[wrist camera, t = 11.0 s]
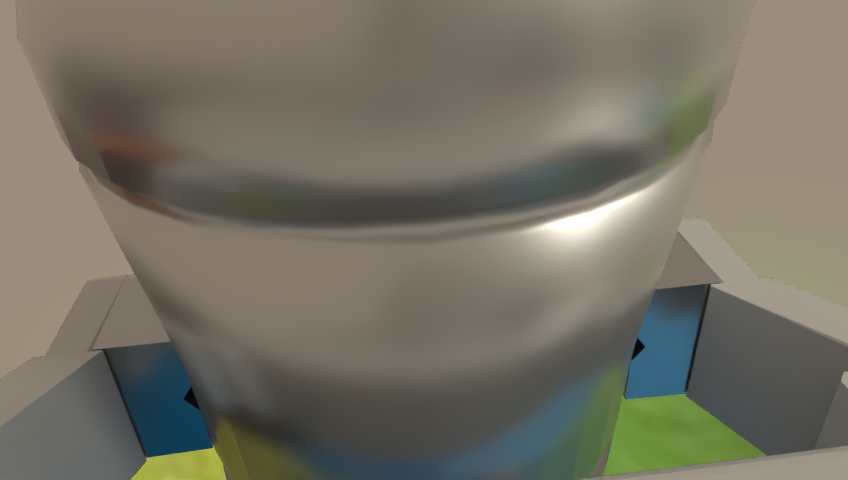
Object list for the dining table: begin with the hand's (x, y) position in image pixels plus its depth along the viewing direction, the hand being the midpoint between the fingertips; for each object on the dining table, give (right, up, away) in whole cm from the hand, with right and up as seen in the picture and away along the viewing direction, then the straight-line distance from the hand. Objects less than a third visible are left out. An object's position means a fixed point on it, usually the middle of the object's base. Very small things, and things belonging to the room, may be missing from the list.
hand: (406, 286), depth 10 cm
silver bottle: (0, -9, +5) cm, 11 cm away
